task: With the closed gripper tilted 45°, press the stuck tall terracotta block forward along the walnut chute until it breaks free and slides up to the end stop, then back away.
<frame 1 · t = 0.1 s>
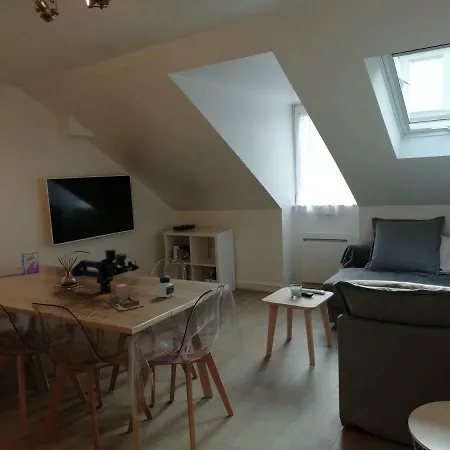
hand: (133, 269, 269), 17 cm above the table, tool horizontal, fingers open, 9 cm apart
terracotta block: (122, 293, 258), point 6 cm above the table, slide at 0.0 cm
walnut chute: (122, 302, 259), on the table
candy bar box: (31, 273, 350), on the table
medicine bottle: (165, 296, 269), on the table
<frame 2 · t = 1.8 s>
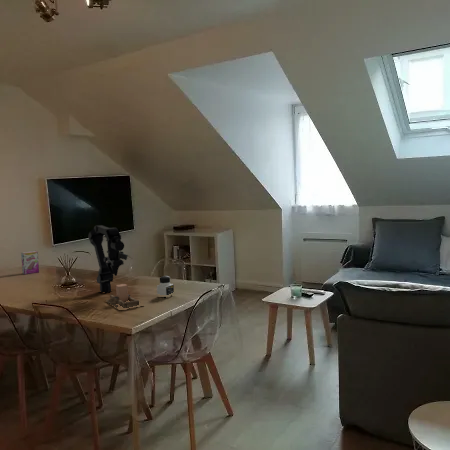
hand: (114, 275, 271), 13 cm above the table, tool pointing down, fingers open, 5 cm apart
nothing on the table moved.
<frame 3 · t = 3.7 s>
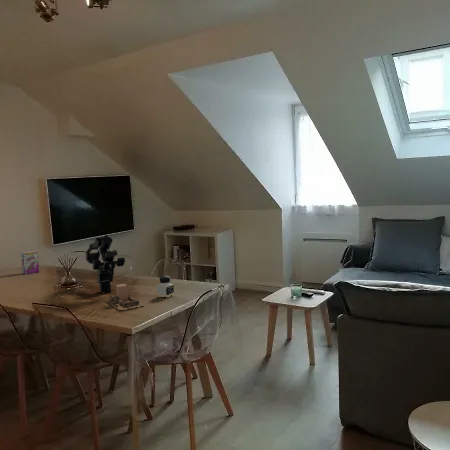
hand: (112, 275, 269), 13 cm above the table, tool tilted 45°, fingers closed
nothing on the table moved.
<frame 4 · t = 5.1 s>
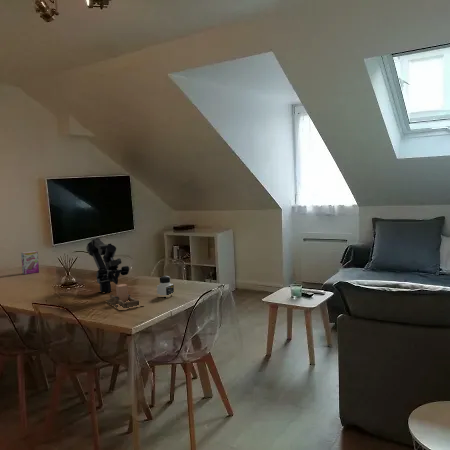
hand: (117, 284, 264), 9 cm above the table, tool tilted 45°, fingers closed
nothing on the table moved.
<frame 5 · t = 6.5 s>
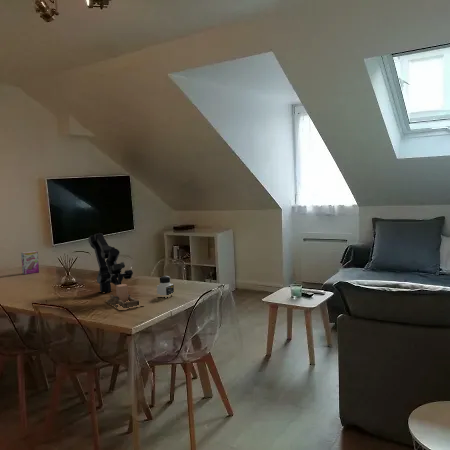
hand: (120, 288, 260), 8 cm above the table, tool tilted 45°, fingers closed, pressing on terracotta block
terracotta block: (122, 293, 258), point 6 cm above the table, slide at 0.2 cm, touching gripper
everything else where it was.
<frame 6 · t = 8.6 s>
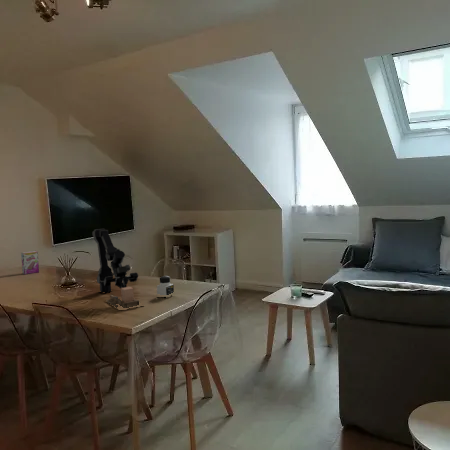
hand: (125, 291, 253), 8 cm above the table, tool tilted 45°, fingers closed, pressing on terracotta block
terracotta block: (127, 296, 251), point 6 cm above the table, slide at 8.7 cm, touching gripper
everything else where it was.
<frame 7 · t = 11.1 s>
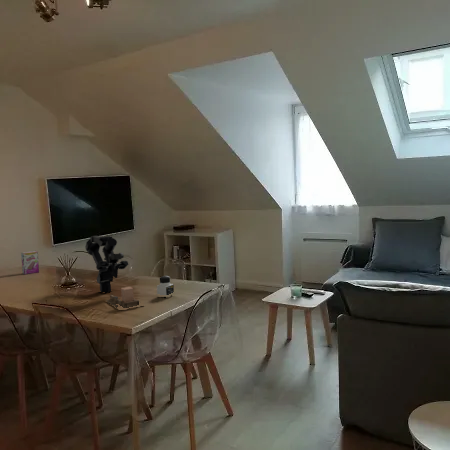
hand: (116, 277, 266), 12 cm above the table, tool tilted 40°, fingers closed
terracotta block: (127, 296, 251), point 6 cm above the table, slide at 8.7 cm
everything else where it was.
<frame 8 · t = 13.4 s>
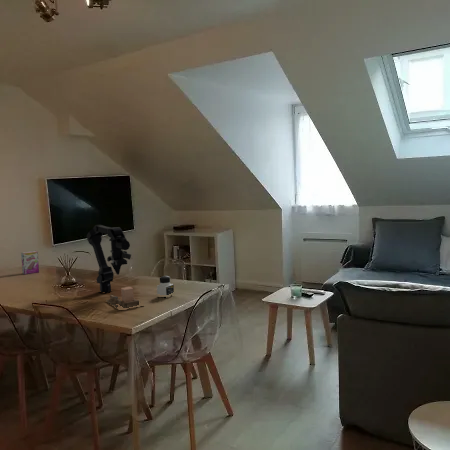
hand: (117, 274, 273), 13 cm above the table, tool pointing down, fingers closed
nothing on the table moved.
at the end: terracotta block slide at 8.7 cm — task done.
